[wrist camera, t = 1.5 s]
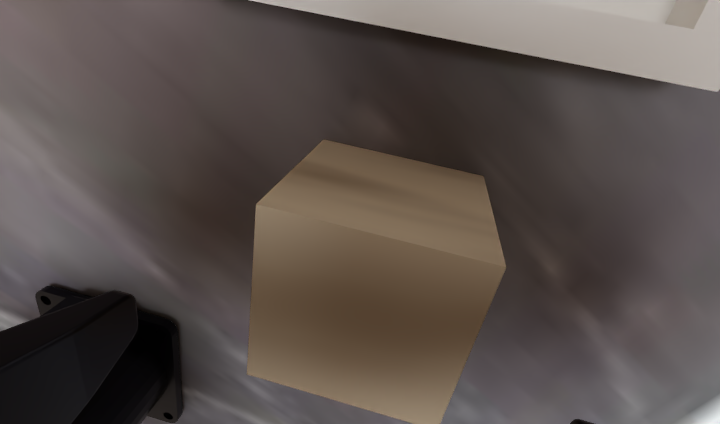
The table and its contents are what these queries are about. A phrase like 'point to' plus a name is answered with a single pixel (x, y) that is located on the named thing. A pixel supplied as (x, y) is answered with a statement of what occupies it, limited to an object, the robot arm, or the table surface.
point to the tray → (562, 30)
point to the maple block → (372, 280)
